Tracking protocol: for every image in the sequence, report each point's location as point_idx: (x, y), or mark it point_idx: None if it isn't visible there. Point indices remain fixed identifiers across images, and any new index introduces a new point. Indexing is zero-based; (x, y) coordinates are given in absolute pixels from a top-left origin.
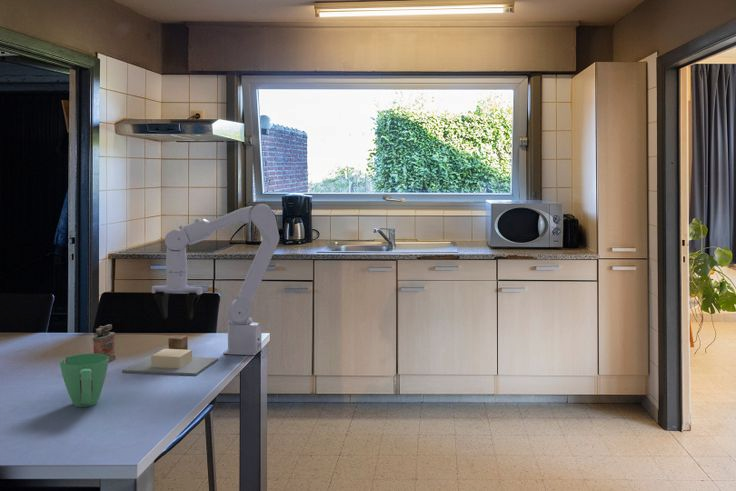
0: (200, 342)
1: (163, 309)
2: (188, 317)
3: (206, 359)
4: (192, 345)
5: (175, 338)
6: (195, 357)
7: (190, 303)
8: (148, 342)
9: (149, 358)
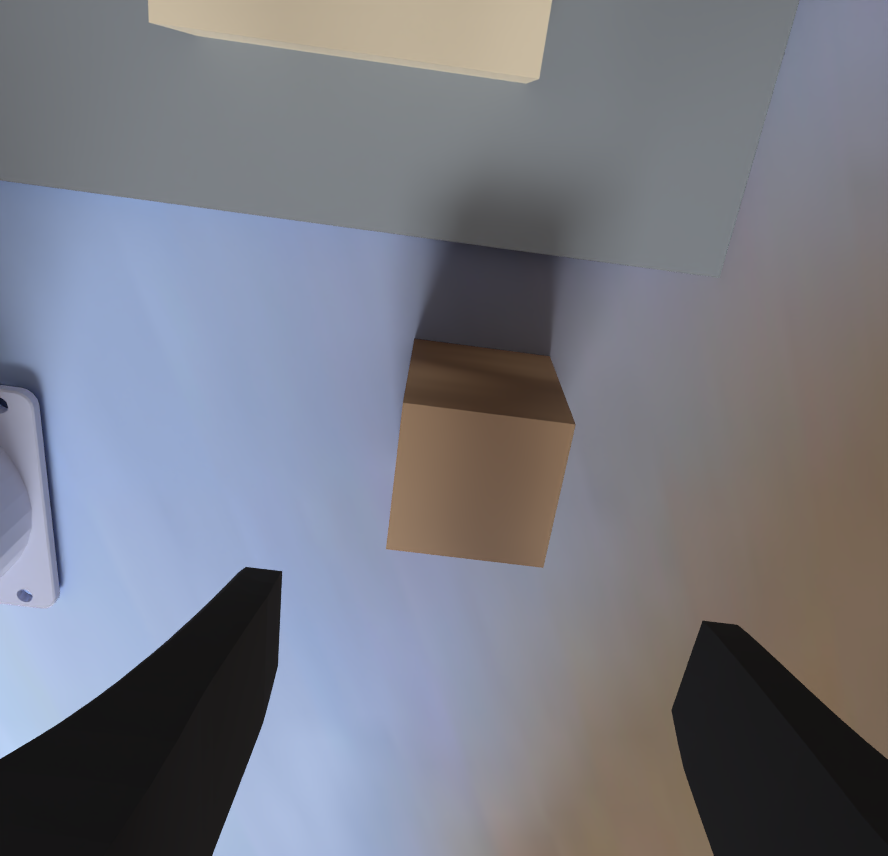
0: (398, 760)
1: (783, 739)
2: (253, 579)
3: (63, 99)
4: (433, 679)
5: (484, 414)
6: (218, 188)
7: (38, 767)
8: None
9: (704, 122)
